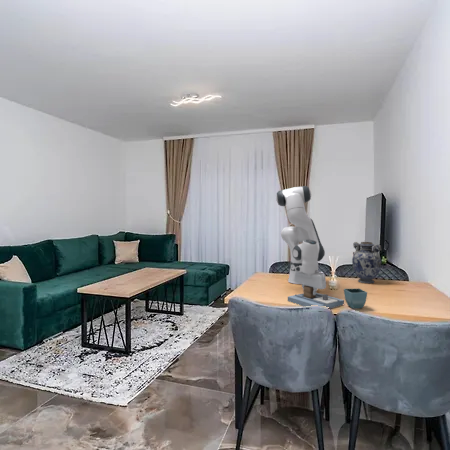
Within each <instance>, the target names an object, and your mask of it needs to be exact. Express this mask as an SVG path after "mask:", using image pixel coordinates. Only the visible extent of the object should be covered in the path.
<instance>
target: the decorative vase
mask: <svg viewBox="0 0 450 450" xmlns="http://www.w3.org/2000/svg"><path fill="white" fill-rule="evenodd" d="M352 246H353V248H354V249H355V251H354V253H353V255H352V259H351V263H352V268H353V271H354V273H355V274H356V276H357V277H358V278H359V279H358V280H357V282H358V283H360V284H369V285H370V284H374V283H375V281H374V280H373V279H375V278H376V277H377V276H378V274H380V271H381V268H382V258H381V255H380V252H381V251H382V245H381V244H376V245H375V244H374V243H373V242H370V241H361V242H360V243H359V242H358V241H354V242H353V245H352Z"/></svg>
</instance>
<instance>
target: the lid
mask: <svg viewBox="0 0 450 450" xmlns="http://www.w3.org/2000/svg"><path fill="white" fill-rule="evenodd" d="M322 294H323V293H322ZM328 296H329V294H327V293H326V294H325V293H324V294H323V297H319V298H315V299H313V300H316V301H320V302H323V303H326V304H329V303H333V302H337V301H338V300H335V299H332V298H328Z"/></svg>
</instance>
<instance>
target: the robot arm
mask: <svg viewBox="0 0 450 450" xmlns="http://www.w3.org/2000/svg"><path fill="white" fill-rule="evenodd" d="M311 197H312V191H311V189H310V187H309V186H307V185H302V186H294V187H291V188H290V187H289V188H285V189H279V190H278V191H277V192H276V195H275V201H276V203H277V204H278V206H280V207H285V208H286V209H285V210H286V215H287V216H286V217H287V219H288V221H289V223H291V224H292V226H285V227H283V228H282V230H281V231H280V232H281V233H280V237H281V239H282V240H283V241H284V242H285V243H286V244H287V245H288V249H289V251H290V252H289V253H290V262H289V267H290V268H289V276H288V279H287V281H288V283H291V284H294V285H295V284H296V285H301V288H302V289H303V290H304V286H310V287H313V289H314V290H313V292H312V295H316V293H317V291H318V290H324V289H326V288H327V281H326V280H327V279H326V274H325V273H324V271H319V262H320V261H322V259H323V258H324V257H325V254H326V253H325V248H324V246H323V245H322V242H321V240H320V237H319V234H318V233H319V232H318V231H317V229H316V225H315V222H314V220H313V219H312V218H310V217H309V215H308V213H307V211H306V207H305V203H308V202H309V201H310V200H312V199H311ZM293 225H294V226H293Z"/></svg>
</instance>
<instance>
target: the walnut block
mask: <svg viewBox="0 0 450 450" xmlns="http://www.w3.org/2000/svg"><path fill="white" fill-rule="evenodd" d="M313 290H314V289H313V287H310V286H304V289H303V293H304V297H306V298H310V299H311V298H315V295H312V292H313Z"/></svg>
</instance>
